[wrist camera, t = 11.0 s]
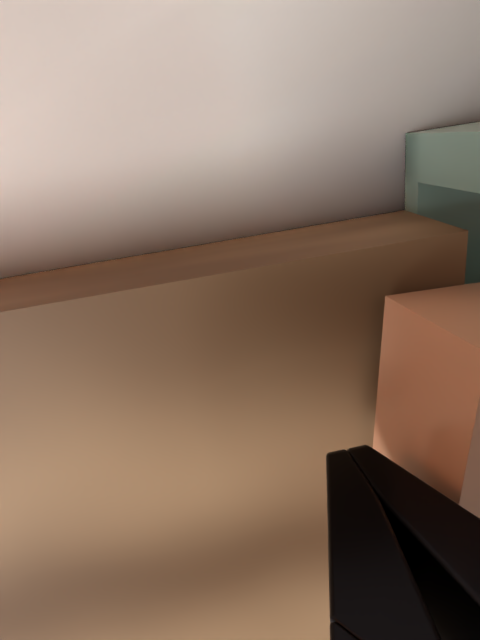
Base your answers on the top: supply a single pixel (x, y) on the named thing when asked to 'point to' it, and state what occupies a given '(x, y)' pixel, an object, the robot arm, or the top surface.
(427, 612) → the robot arm
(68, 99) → the top surface
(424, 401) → the terracotta tile
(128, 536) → the walnut board
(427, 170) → the box
